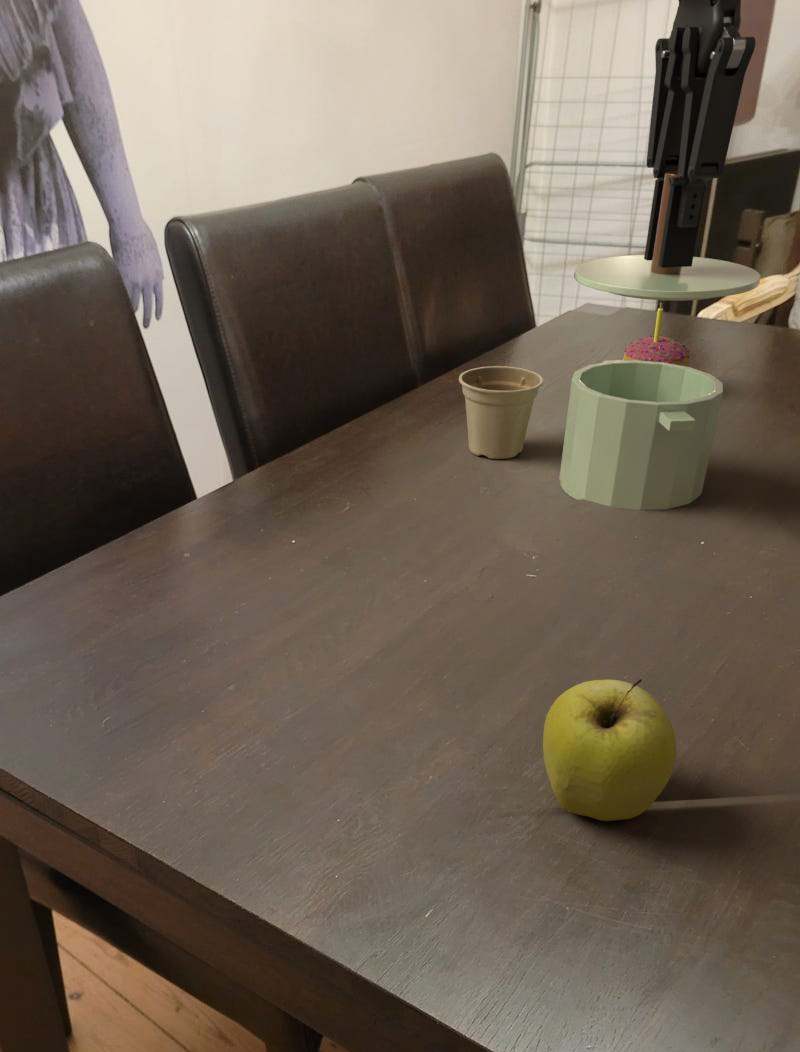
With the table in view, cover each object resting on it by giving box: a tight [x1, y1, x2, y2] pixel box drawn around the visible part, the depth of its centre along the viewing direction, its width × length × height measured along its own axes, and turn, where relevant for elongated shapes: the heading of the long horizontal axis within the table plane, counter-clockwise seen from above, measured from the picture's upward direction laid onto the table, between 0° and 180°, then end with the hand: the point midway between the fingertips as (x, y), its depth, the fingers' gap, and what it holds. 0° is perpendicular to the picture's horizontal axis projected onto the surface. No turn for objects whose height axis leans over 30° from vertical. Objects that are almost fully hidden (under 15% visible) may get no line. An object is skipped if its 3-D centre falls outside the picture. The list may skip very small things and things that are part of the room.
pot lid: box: [573, 171, 761, 302], centre depth 84 cm, size 16×16×9 cm
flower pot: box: [458, 365, 544, 460], centre depth 111 cm, size 9×9×9 cm
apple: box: [542, 678, 677, 822], centre depth 58 cm, size 8×8×10 cm
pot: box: [559, 359, 724, 511], centre depth 100 cm, size 15×20×12 cm
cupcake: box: [622, 302, 691, 367], centre depth 128 cm, size 9×8×12 cm
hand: (667, 261), depth 85 cm, fingers closed on pot lid, 3 cm apart
